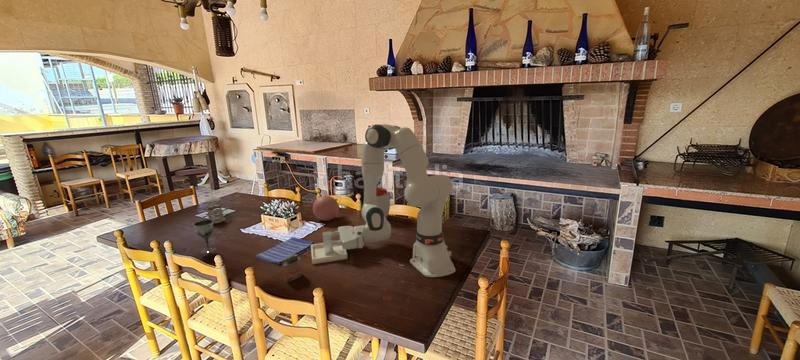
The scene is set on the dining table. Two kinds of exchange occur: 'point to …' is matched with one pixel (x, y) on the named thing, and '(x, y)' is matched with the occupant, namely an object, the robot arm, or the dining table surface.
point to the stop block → (327, 242)
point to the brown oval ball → (325, 208)
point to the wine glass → (205, 233)
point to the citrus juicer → (383, 200)
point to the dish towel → (285, 250)
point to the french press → (217, 215)
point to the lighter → (292, 268)
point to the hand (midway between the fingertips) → (330, 239)
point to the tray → (320, 256)
